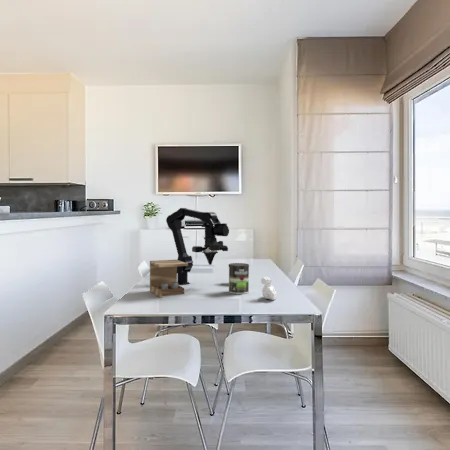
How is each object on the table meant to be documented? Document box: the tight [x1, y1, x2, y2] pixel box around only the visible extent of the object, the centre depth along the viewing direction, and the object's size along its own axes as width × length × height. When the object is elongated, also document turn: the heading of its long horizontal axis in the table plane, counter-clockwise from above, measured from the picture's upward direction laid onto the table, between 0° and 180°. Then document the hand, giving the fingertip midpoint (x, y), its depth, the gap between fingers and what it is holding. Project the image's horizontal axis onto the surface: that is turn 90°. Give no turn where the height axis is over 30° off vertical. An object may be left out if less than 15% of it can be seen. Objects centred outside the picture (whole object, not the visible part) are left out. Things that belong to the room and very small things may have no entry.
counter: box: [149, 259, 188, 299], centre depth 194 cm, size 18×14×15 cm
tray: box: [156, 282, 185, 297], centre depth 195 cm, size 9×12×5 cm
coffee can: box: [228, 262, 250, 295], centre depth 198 cm, size 10×10×14 cm
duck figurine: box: [260, 276, 278, 301], centre depth 183 cm, size 12×8×11 cm
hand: (210, 264), depth 210 cm, fingers closed
